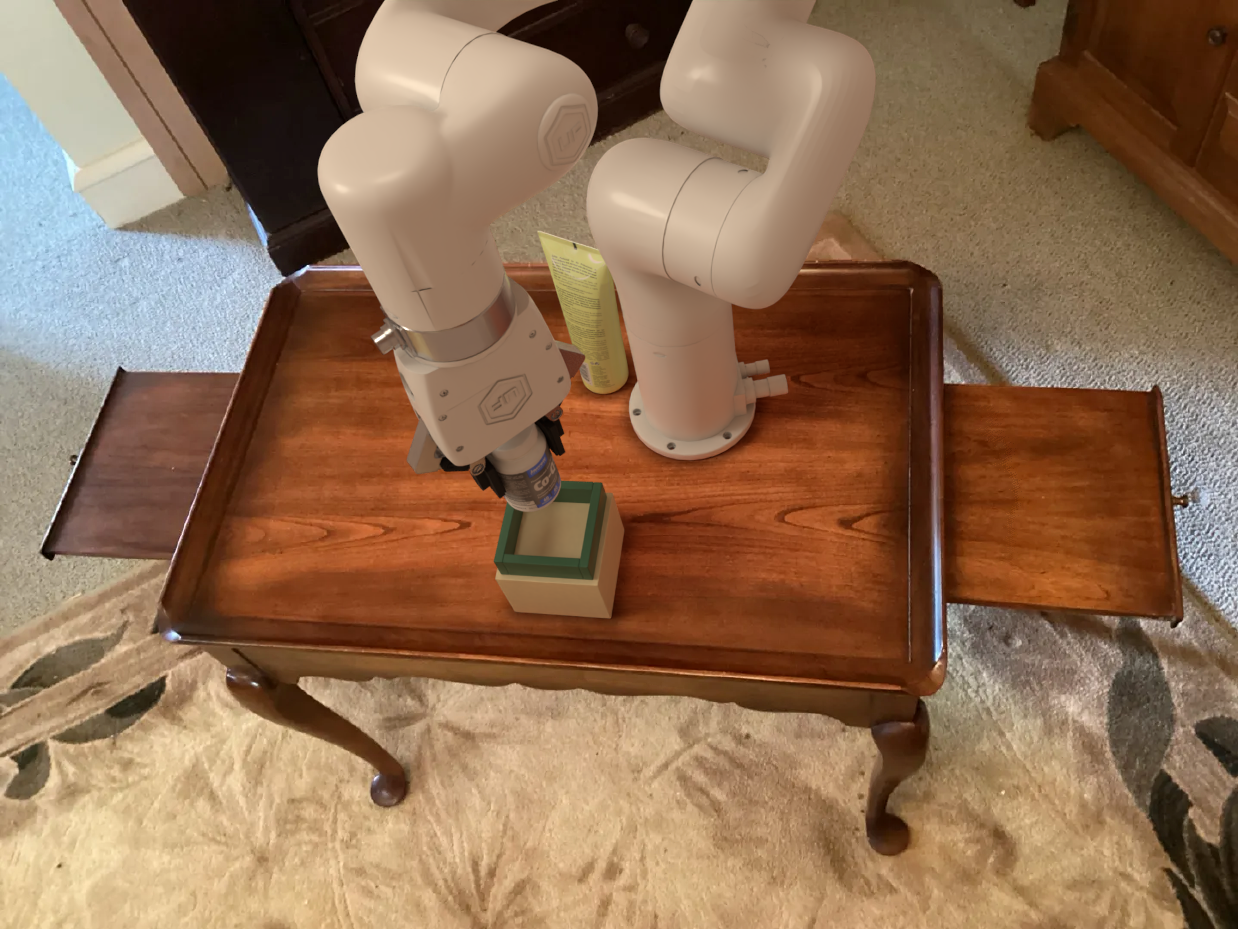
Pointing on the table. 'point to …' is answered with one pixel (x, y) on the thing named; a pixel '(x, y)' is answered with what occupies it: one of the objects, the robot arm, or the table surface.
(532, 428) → the pill bottle
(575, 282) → the tube
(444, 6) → the robot arm
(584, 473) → the table surface
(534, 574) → the green rimmed box
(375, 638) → the table surface
